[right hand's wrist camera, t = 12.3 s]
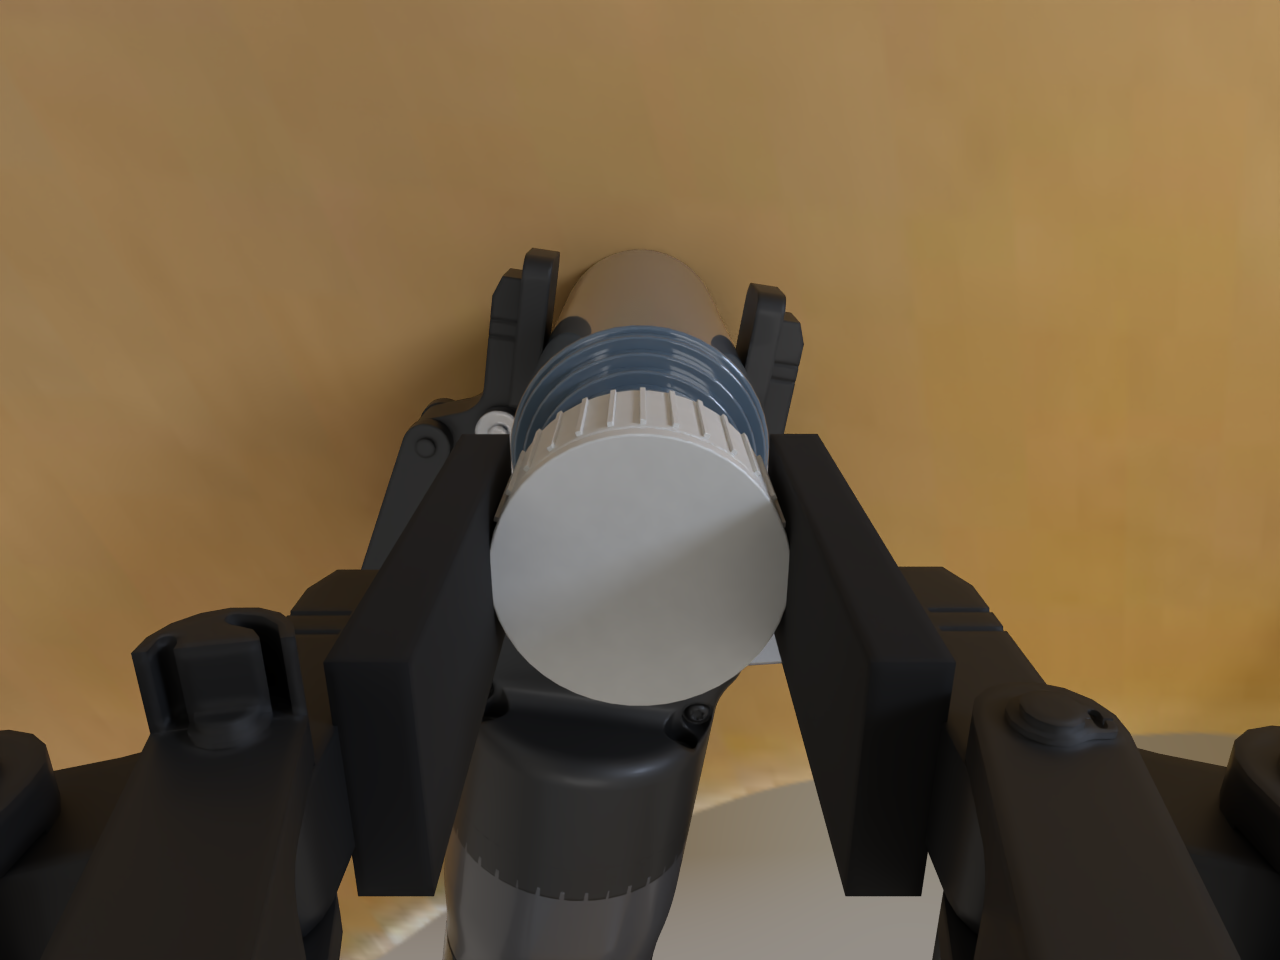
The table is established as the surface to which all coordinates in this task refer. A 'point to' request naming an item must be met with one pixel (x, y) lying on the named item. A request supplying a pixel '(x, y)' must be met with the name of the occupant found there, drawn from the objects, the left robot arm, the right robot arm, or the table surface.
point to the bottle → (639, 347)
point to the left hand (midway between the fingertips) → (654, 274)
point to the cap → (639, 550)
